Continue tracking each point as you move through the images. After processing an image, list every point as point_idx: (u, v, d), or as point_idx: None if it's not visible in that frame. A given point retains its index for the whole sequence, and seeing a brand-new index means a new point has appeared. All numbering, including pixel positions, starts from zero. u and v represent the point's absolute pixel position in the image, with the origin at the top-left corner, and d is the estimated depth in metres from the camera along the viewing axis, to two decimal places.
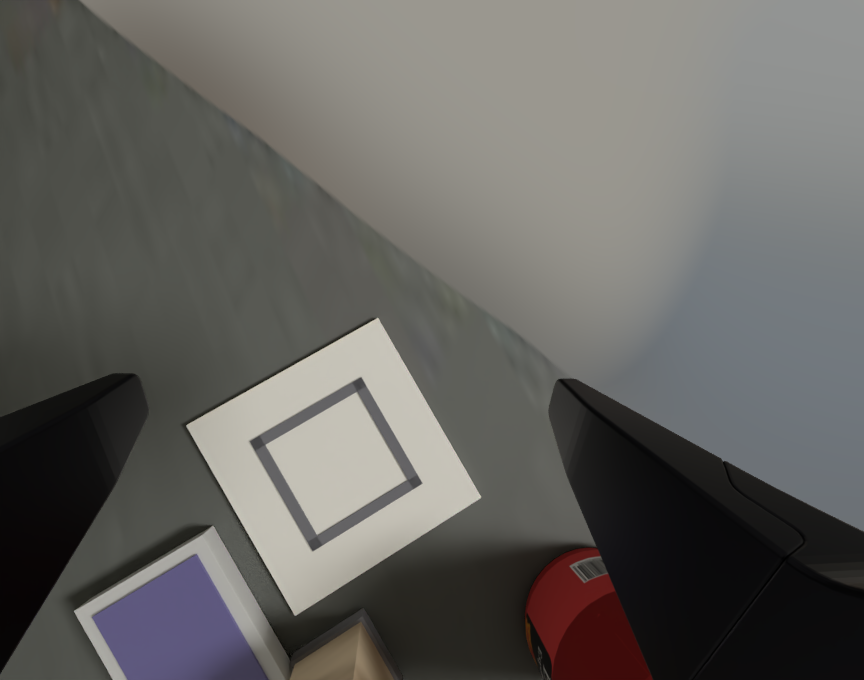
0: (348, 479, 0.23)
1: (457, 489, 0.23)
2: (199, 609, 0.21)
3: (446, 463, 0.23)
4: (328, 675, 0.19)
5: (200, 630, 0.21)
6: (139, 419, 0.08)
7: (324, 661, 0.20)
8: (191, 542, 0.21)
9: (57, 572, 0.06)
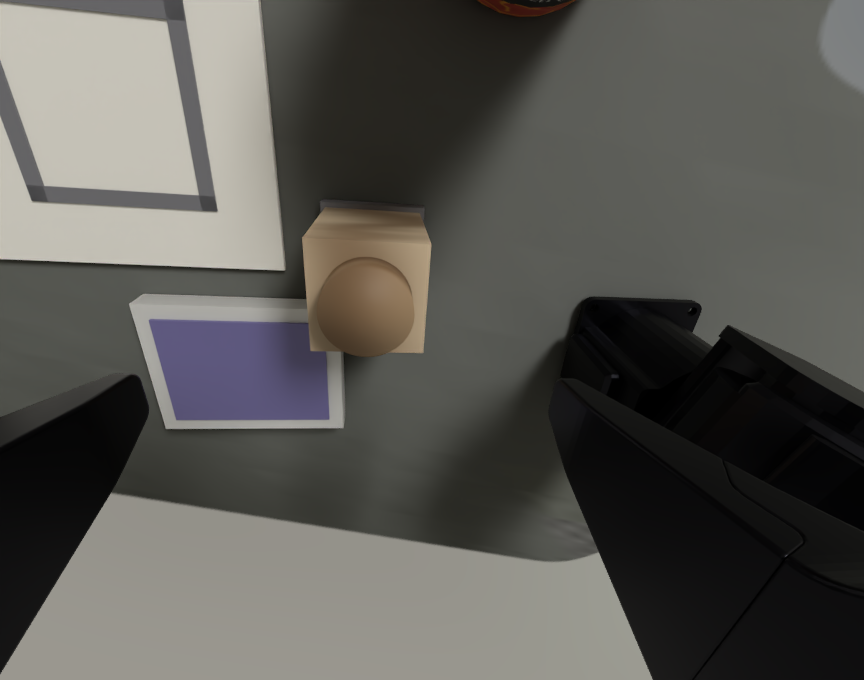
0: (134, 109, 0.15)
1: None
2: (215, 343, 0.19)
3: None
4: None
5: (234, 352, 0.19)
6: (139, 419, 0.08)
7: None
8: (135, 317, 0.18)
9: (57, 572, 0.06)
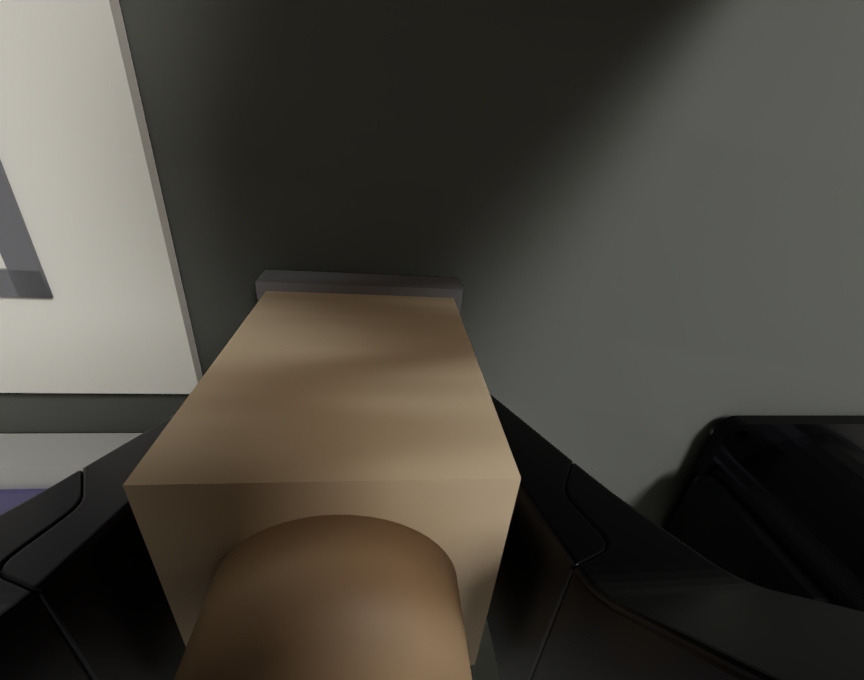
0: None
1: None
2: None
3: None
4: None
5: None
6: None
7: None
8: None
9: None
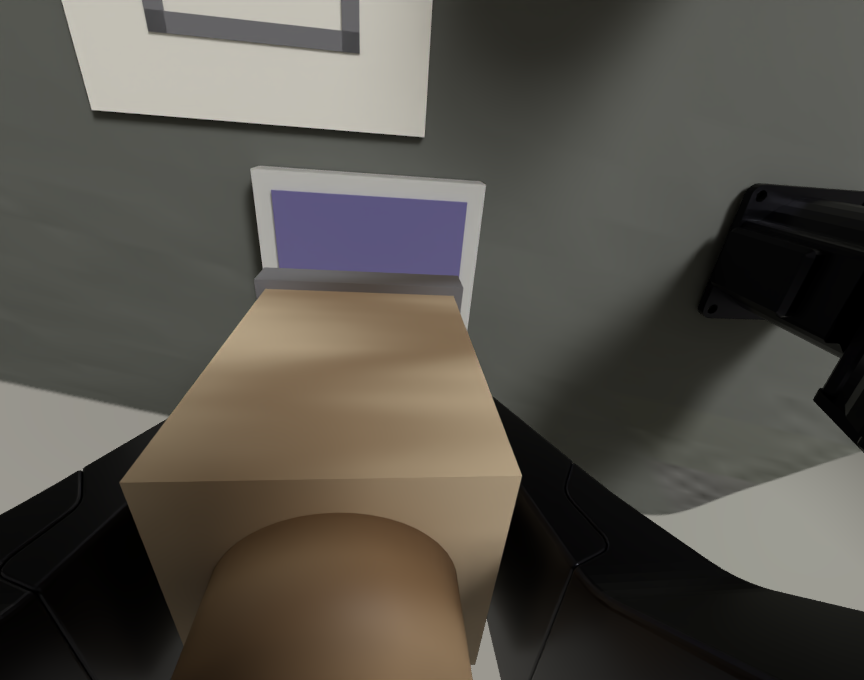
0: None
1: None
2: (340, 225, 0.16)
3: None
4: None
5: (362, 235, 0.16)
6: None
7: None
8: (254, 187, 0.15)
9: None
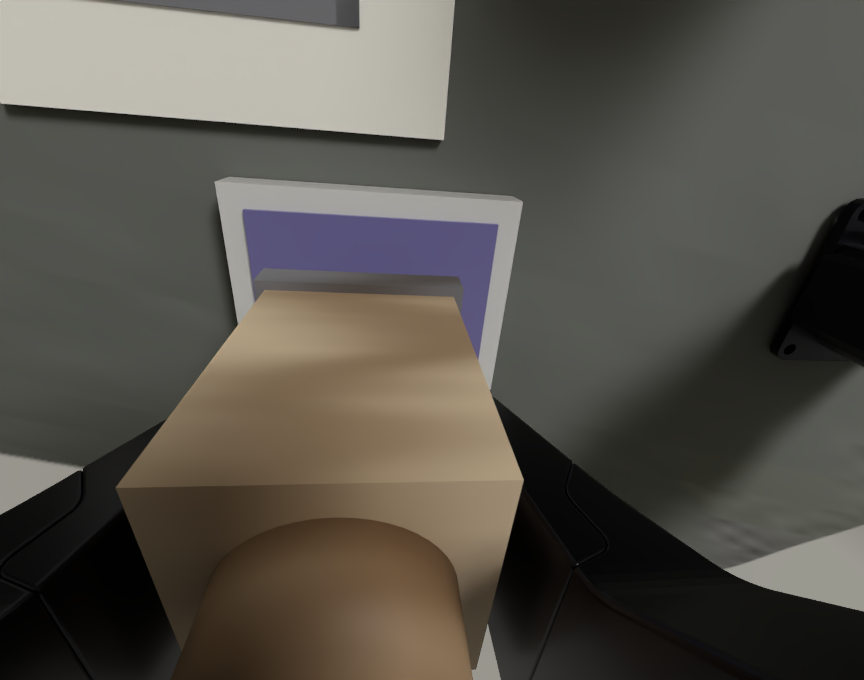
0: None
1: None
2: (334, 253, 0.13)
3: None
4: None
5: (362, 267, 0.13)
6: None
7: None
8: (221, 206, 0.12)
9: None
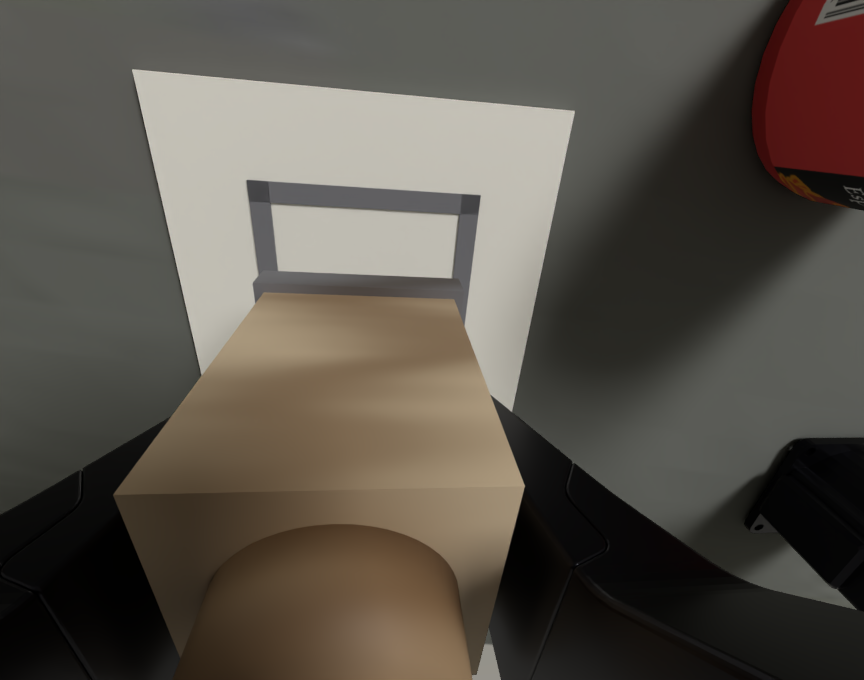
0: None
1: (531, 145, 0.12)
2: None
3: (480, 132, 0.12)
4: None
5: None
6: None
7: None
8: None
9: None
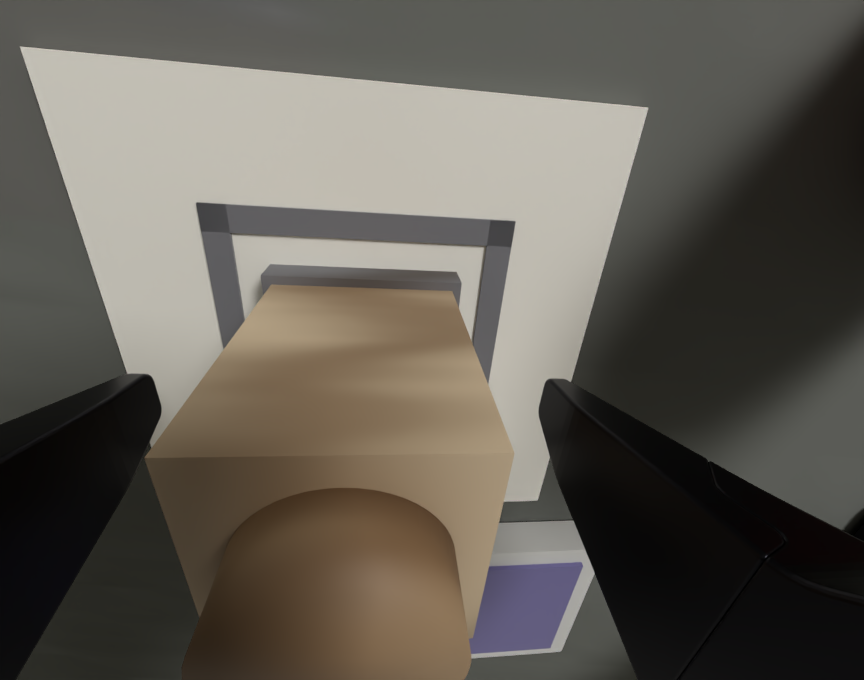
0: None
1: (586, 154, 0.09)
2: None
3: (517, 137, 0.09)
4: None
5: None
6: (152, 419, 0.08)
7: None
8: None
9: (74, 571, 0.06)
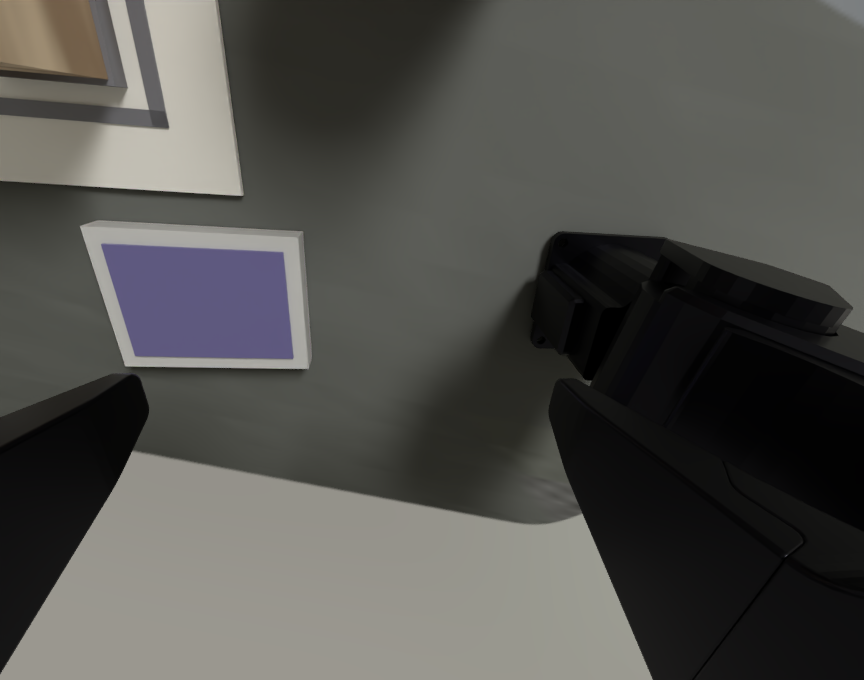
0: None
1: None
2: (171, 272, 0.18)
3: None
4: None
5: (191, 281, 0.19)
6: (139, 419, 0.08)
7: None
8: (87, 241, 0.17)
9: (57, 572, 0.06)
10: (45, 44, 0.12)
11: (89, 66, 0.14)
